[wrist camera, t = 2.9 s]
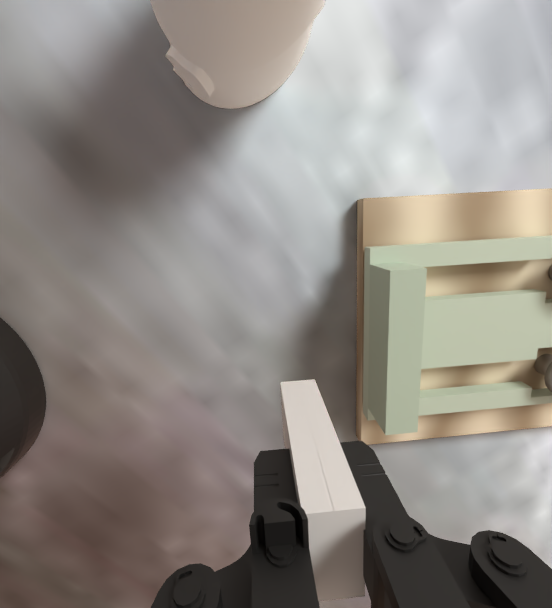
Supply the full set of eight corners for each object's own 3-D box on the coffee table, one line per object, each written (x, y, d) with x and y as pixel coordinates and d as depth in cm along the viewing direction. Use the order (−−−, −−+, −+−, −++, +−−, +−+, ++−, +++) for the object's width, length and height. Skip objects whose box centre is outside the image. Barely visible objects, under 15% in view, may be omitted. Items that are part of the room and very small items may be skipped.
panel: (362, 412, 23) (384, 449, 20) (364, 246, 21) (391, 251, 17) (580, 392, 24) (642, 423, 21) (611, 231, 22) (689, 232, 18)
